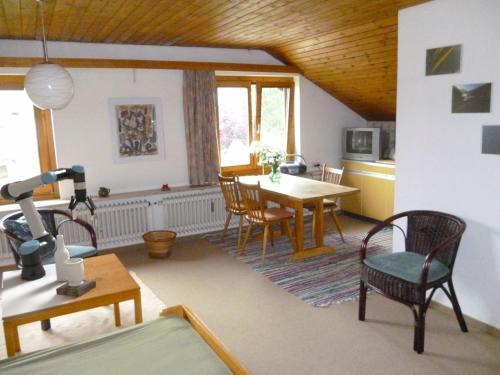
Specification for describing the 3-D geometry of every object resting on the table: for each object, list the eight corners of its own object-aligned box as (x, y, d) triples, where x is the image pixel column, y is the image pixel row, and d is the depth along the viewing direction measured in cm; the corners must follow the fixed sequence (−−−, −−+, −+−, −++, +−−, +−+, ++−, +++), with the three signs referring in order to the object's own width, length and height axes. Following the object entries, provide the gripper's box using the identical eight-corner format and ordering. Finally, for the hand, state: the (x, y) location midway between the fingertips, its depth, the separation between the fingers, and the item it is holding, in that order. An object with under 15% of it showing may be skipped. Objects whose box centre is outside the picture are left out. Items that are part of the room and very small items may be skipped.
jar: (89, 281, 266) (86, 258, 263) (77, 288, 256) (74, 264, 253) (75, 280, 269) (72, 257, 266) (62, 286, 259) (60, 262, 257)
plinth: (56, 294, 258) (56, 288, 257) (74, 284, 273) (74, 278, 272) (79, 297, 253) (78, 290, 253) (96, 286, 268) (95, 280, 268)
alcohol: (54, 280, 279) (49, 236, 274) (65, 276, 287) (60, 232, 282) (63, 283, 275) (58, 237, 270) (74, 278, 283) (70, 234, 278)
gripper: (60, 188, 283) (63, 220, 287) (92, 189, 276) (95, 222, 280) (68, 186, 290) (71, 217, 294) (99, 187, 283) (102, 219, 287)
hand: (83, 219), depth 287 cm, fingers open, 13 cm apart
